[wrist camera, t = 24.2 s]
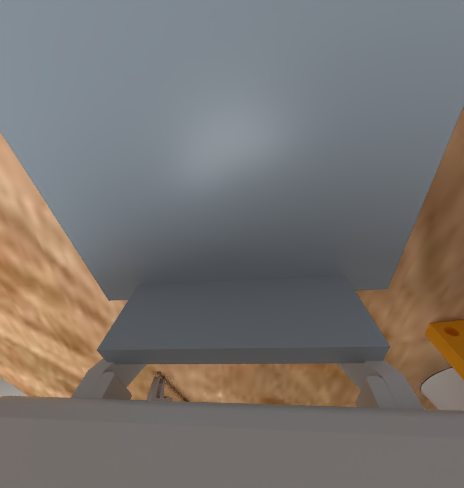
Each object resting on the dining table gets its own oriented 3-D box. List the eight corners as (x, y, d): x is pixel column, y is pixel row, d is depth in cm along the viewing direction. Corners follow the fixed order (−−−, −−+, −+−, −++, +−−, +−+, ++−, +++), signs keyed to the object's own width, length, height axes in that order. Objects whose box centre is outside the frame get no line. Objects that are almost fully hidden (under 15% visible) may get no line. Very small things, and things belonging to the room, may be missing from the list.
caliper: (154, 374, 39) (139, 414, 33) (159, 373, 38) (145, 414, 33) (195, 415, 49) (188, 451, 43) (199, 415, 48) (193, 451, 43)
